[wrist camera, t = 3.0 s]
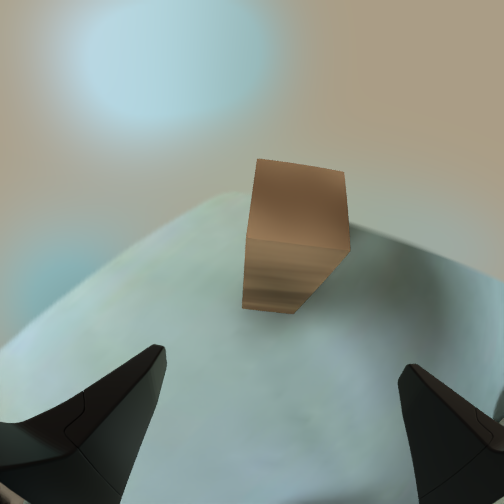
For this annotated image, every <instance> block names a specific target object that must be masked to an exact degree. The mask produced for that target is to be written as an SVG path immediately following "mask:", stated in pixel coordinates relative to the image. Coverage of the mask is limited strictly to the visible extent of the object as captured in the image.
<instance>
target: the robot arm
mask: <svg viewBox="0 0 504 504" xmlns="http://www.w3.org/2000/svg"><path fill="white" fill-rule="evenodd" d="M166 367H167V360H166V350H165V347H164V346H161V345H156V344H153V345H151V346H150V347H148V348H147V349H145V350H144V351H142V352H141V353H139V354H138V355H136V356H135V357H133V358H132V359H130V360H129V361H127V362H126V363H124V364H123V365H121V366H120V367H118V368H117V369H115V370H114V371H112V372H111V373H109V374H108V375H106V376H105V377H103V378H101V379H100V380H98V381H97V382H95V383H94V384H92V385H91V386H89V387H88V388H86V389H85V390H84V392H83V391H81V392H80V393H78V394H77V395H75V396H74V397H72V398H70V399H69V400H67V401H65V402H63V403H62V404H60V405H58V406H56V407H54V408H52V409H50V410H48V411H45V412H43V413H41V414H39V415H37V416H35V417H32V418H30V419H28V420H26V421H23V422H19V423H5V422H0V504H120V501H121V499H122V495H123V493H124V490H125V487H126V484H127V481H128V479H129V476H130V473H131V470H132V468H133V465H134V462H135V460H136V457H137V454H138V452H139V449H140V446H141V444H142V441H143V439H144V436H145V433H146V431H147V428H148V426H149V423H150V421H151V418H152V416H153V413H154V410H155V408H156V405H157V402H158V398H159V394H160V390H161V387H162V383H163V379H164V375H165V371H166ZM398 389H399V395H400V401H401V408H402V415H403V420H404V424H405V428H406V432H407V437H408V441H409V446H410V451H411V456H412V461H413V466H414V472H415V478H416V484H417V491H418V499H419V504H504V426H503V425H501V424H500V423H498V422H496V421H495V420H493V419H492V418H490V417H489V416H487V415H486V414H484V413H483V412H482V411H480V410H479V409H478V408H476V407H475V406H473V405H472V404H471V403H469V402H468V401H467V400H465V399H464V398H463V397H461V396H460V395H459V394H457V393H456V392H454V391H453V390H452V389H450V388H449V387H448V386H446V385H445V384H444V383H442V382H441V381H439V380H438V379H437V378H435V377H434V376H433V375H431V374H430V373H429V372H427V371H426V370H424V369H423V368H422V367H420V366H419V365H418V364H408V365H406V367H405V368H404V370H403V372H402V374H401V375H400V377H399V379H398Z"/></svg>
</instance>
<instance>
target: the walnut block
mask: <svg viewBox="0 0 504 504" xmlns="http://www.w3.org/2000/svg"><path fill="white" fill-rule="evenodd" d="M349 252H350V234H349V220H348V207H347V196H346V186H345V177H344V172H341V171H336V170H330V169H325V168H319V167H313V166H307V165H300V164H294V163H288V162H279V161H273V160H265V159H257V164H256V170H255V177H254V184H253V191H252V199H251V206H250V213H249V220H248V227H247V235H246V247H245V264H244V281H243V298H242V308H243V309H251V310H260V311H269V312H278V313H288V314H294V313H295V312H296V311H297V310H298V309H299V308H300V307H301V306H302V304H303V303H304V302H305V301H306V300H307V299H308V298H309V297H310V296H311V295H312V294H313V293H314V292H315V291H316V289H317V288H318V287H319V286H320V285H321V284H322V283H323V282H324V281H325V280H326V278H327V277H328V276H329V275H330V274H331V273H332V272H333V271H334V269H335V268H336V267H337V266H338V265H339V264H340V263H341V261H342V260H343V259H344V258H345V257H346V256H347V255H348V253H349Z"/></svg>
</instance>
